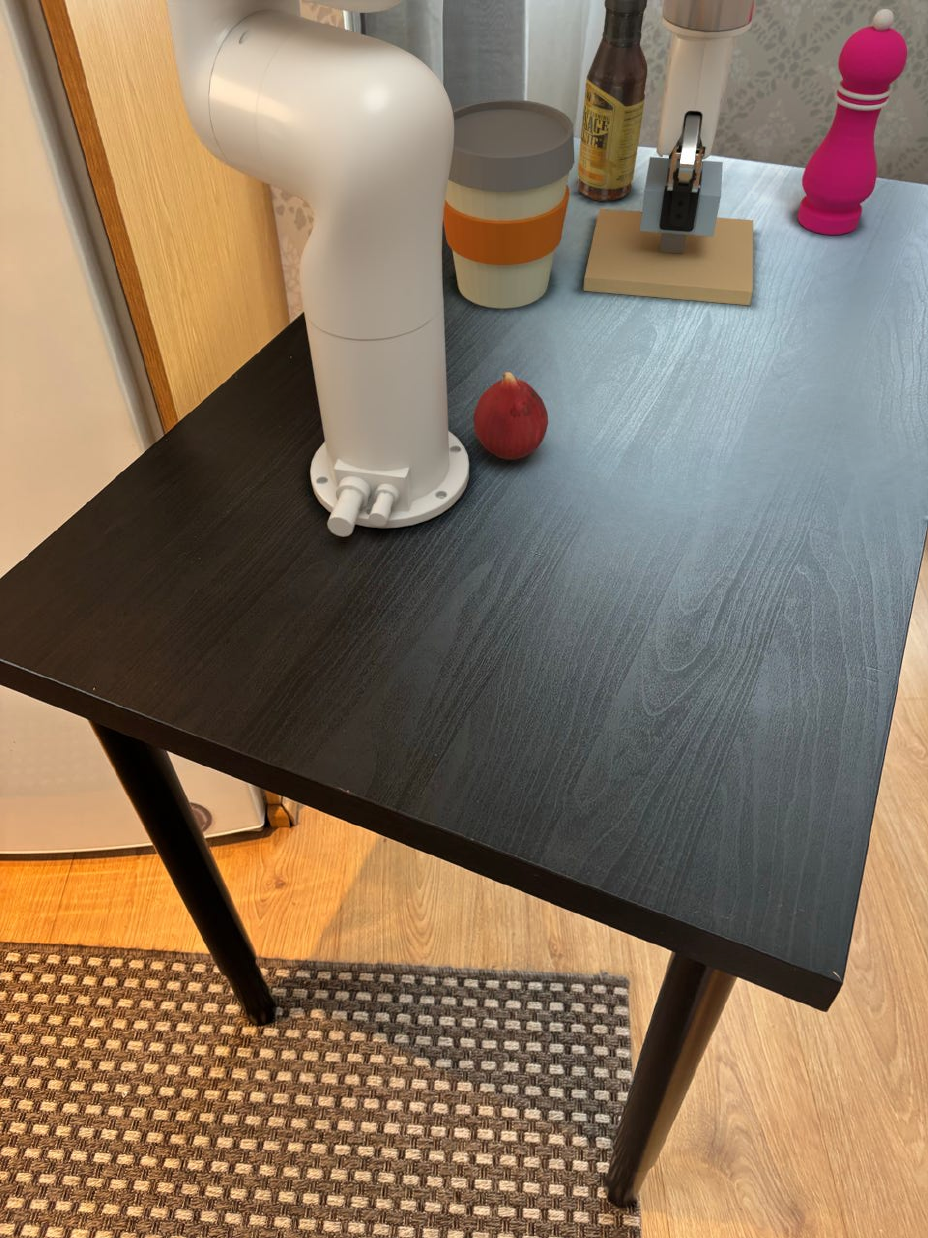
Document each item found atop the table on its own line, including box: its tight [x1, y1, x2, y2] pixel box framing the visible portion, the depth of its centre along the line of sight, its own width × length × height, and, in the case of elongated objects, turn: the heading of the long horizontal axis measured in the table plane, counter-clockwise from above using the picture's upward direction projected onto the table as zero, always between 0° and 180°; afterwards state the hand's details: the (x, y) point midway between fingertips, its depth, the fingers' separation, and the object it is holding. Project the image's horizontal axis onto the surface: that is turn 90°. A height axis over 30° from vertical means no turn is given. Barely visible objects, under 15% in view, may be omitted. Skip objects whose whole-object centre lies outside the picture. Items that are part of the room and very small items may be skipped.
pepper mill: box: [797, 8, 908, 236], centre depth 95 cm, size 7×7×20 cm
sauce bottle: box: [577, 0, 648, 202], centre depth 101 cm, size 6×6×20 cm
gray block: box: [640, 156, 724, 237], centre depth 93 cm, size 7×7×4 cm
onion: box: [472, 371, 549, 461], centre depth 76 cm, size 6×6×8 cm
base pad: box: [582, 208, 754, 306], centre depth 97 cm, size 14×16×4 cm
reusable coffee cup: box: [443, 99, 576, 309], centre depth 90 cm, size 13×13×15 cm
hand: (678, 208), depth 94 cm, fingers closed on gray block, 7 cm apart
